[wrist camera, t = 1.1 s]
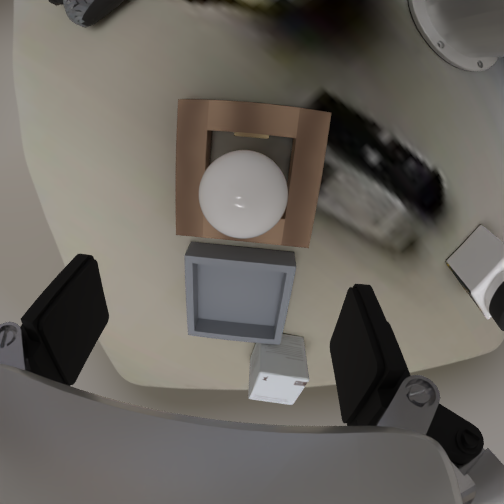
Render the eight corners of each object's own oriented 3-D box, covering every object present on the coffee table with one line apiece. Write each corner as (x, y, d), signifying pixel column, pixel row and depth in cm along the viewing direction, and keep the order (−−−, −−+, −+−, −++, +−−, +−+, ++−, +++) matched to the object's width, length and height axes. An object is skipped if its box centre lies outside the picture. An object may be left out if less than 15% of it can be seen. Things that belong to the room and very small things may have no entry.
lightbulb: (295, 177, 28) (310, 222, 19) (241, 211, 30) (229, 270, 21) (257, 123, 26) (251, 138, 16) (203, 161, 28) (169, 198, 18)
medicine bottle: (444, 261, 32) (492, 323, 21) (480, 222, 29) (538, 273, 19) (464, 288, 34) (505, 347, 23) (497, 254, 31) (545, 305, 21)
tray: (293, 252, 32) (296, 266, 30) (279, 327, 38) (279, 344, 35) (191, 241, 32) (184, 255, 30) (192, 318, 38) (188, 334, 35)
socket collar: (325, 111, 25) (331, 113, 23) (305, 236, 31) (308, 247, 29) (185, 99, 25) (178, 99, 23) (182, 224, 31) (176, 234, 29)
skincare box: (249, 357, 41) (246, 399, 34) (260, 328, 38) (259, 372, 31) (290, 364, 41) (292, 406, 35) (305, 336, 38) (310, 380, 32)
